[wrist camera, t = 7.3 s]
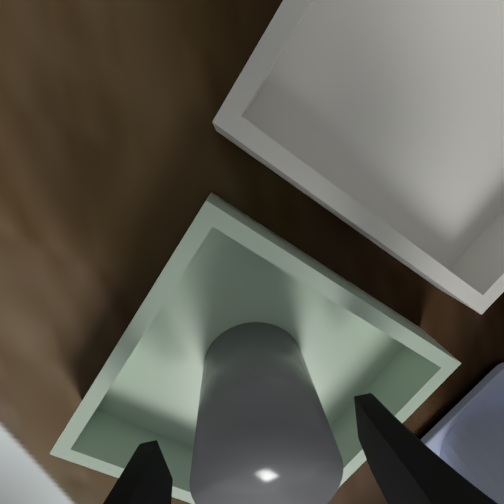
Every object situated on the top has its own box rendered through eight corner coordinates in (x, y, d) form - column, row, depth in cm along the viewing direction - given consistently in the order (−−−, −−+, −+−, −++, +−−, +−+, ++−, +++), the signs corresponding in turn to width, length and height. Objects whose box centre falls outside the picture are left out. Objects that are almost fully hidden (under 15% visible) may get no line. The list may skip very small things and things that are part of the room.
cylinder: (322, 358, 13) (373, 467, 9) (256, 419, 14) (270, 549, 9) (250, 302, 12) (264, 392, 7) (182, 372, 13) (156, 493, 8)
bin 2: (420, 327, 14) (461, 363, 12) (280, 481, 17) (289, 537, 14) (211, 191, 11) (206, 200, 9) (81, 401, 14) (49, 453, 11)
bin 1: (653, 40, 11) (778, 5, 8) (434, 286, 13) (481, 314, 11) (440, -249, 8) (534, -431, 6) (216, 130, 11) (212, 122, 8)
